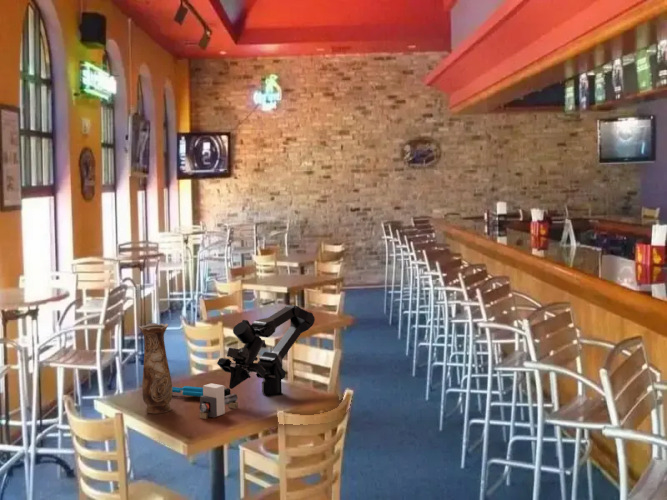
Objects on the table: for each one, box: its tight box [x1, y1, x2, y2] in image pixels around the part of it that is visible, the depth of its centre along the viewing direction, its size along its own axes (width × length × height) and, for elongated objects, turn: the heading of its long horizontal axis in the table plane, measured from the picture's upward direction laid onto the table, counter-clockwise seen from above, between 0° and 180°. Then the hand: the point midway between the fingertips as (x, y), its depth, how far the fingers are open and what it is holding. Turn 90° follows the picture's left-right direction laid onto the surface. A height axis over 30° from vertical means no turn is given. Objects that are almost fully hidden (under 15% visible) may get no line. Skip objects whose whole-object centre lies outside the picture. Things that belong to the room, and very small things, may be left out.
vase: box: [138, 322, 173, 414], centre depth 280 cm, size 10×11×30 cm
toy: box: [172, 385, 232, 398], centre depth 297 cm, size 8×6×30 cm
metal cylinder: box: [198, 393, 239, 420], centre depth 277 cm, size 16×3×5 cm, turn 145°
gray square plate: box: [199, 396, 218, 418], centre depth 273 cm, size 2×6×6 cm, turn 55°
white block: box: [202, 383, 226, 417], centre depth 275 cm, size 4×6×10 cm, turn 55°
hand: (230, 388), depth 282 cm, fingers closed
